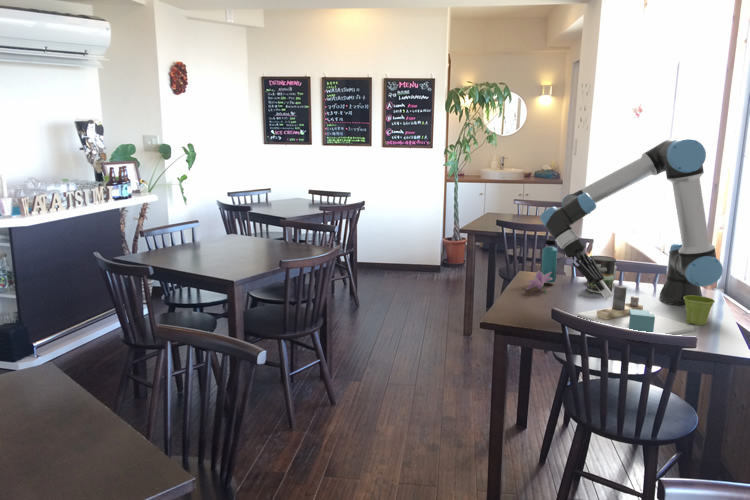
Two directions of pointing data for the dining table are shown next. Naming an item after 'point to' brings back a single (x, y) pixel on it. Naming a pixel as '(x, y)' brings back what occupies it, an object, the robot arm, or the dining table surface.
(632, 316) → the block
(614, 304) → the link
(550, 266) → the beverage bottle
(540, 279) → the lily
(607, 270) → the coffee can
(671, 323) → the base board
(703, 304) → the plant pot
